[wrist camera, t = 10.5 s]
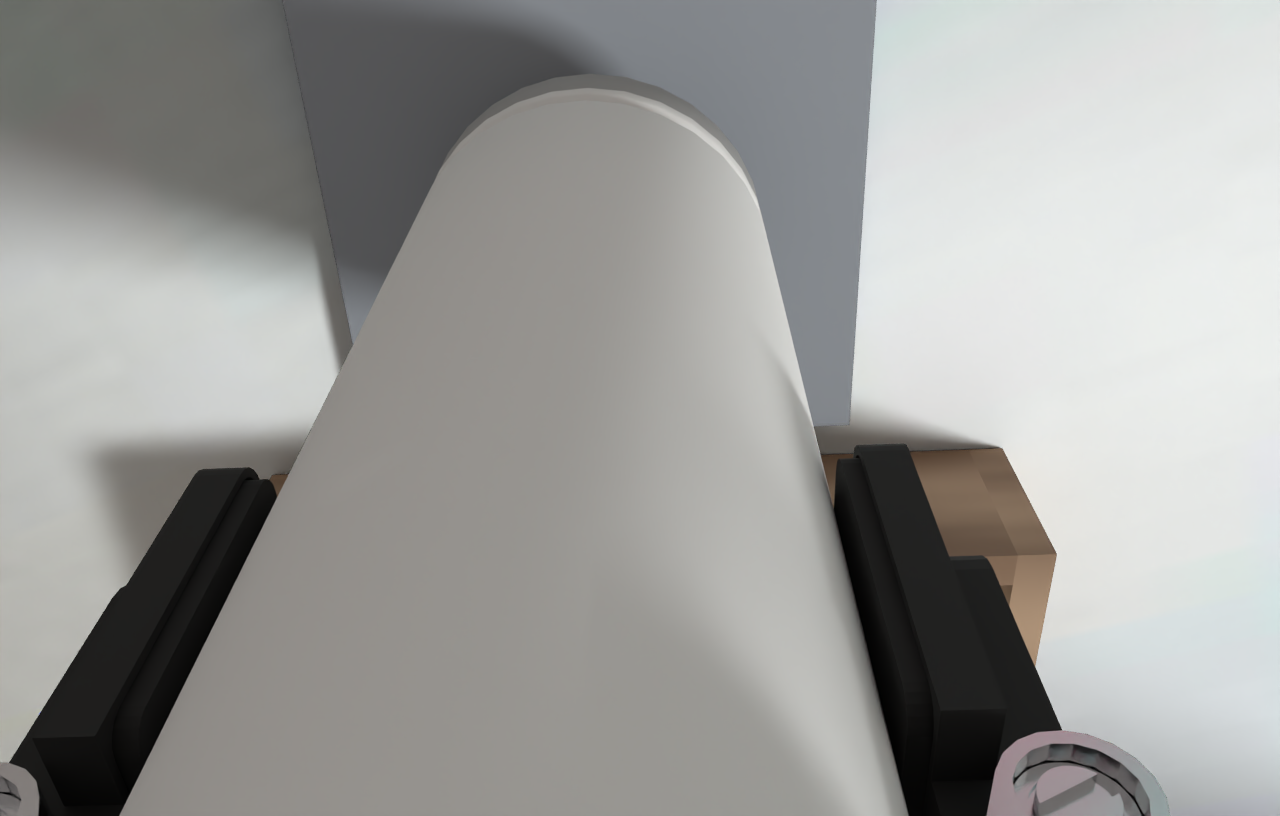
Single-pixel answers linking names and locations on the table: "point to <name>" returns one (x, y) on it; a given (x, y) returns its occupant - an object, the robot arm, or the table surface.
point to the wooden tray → (977, 524)
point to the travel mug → (551, 516)
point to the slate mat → (617, 46)
